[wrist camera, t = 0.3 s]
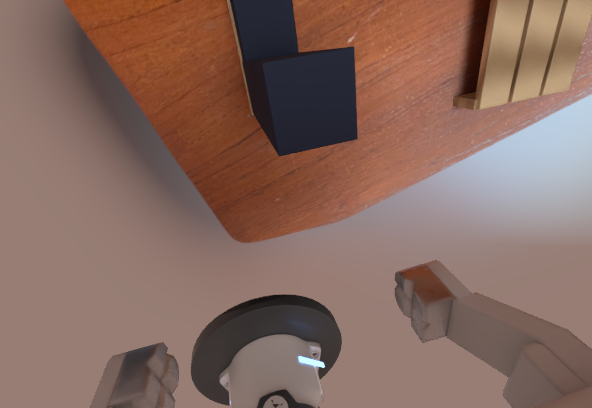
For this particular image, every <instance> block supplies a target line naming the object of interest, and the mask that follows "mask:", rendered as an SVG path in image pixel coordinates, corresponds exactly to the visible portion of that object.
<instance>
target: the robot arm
mask: <svg viewBox="0 0 592 408" xmlns="http://www.w3.org/2000/svg"><path fill="white" fill-rule="evenodd" d="M395 281H396V282H397V284H398V285H397V286H396V288H395V297H396V301H397V303H398V305H399V308H400V309H401V311H402V312H403V314H404V315H405V316H407V317H409V318H411V326H412V327H413V329H414V331H415V332H416V334H417V335H418V337H419V338H420V340H421V341H422V343H424V342H427V341H431V340H434V339H438V338H441V337H445V336H447V338H449V339H450V340H452V341H453V342H455V343H456V344H458V345H459V346H461V347H463V348H464V349H466V350H467V351H469V352H470V353H472V354H473V355H475V356H476V357H478V358H480V359H481V360H483V361H484V362H486V363H487V364H489V365H490V366H492V367H493V368H495V369H497V370H498V371H500V372H501V373H503V374H504V375H506V376H507V377H509V378H508V380H507V383H506V386H505V388H504V392H503V396H504V398H505V399H506V400H507V402H508V403H509V404H510V405H511V407H512V408H592V349H591V348H589V347H588V346H587V345H586V344H584V343H583V342H582V341H581V340H580V339H578V338H577V337H576V336H575V335H574V334H572V333H571V332H570V331H569V330H567V329H565V328H563V327H560V326H558V325H555V324H553V323H550V322H548V321H545V320H543V319H540V318H538V317H535V316H533V315H531V314H528V313H526V312H523V311H521V310H518V309H516V308H513V307H511V306H508V305H506V304H503V303H501V302H498V301H496V300H494V299H491V298H489V297H486V296H484V295H481V294H478V293H473V294H472V293H471V292H470V291H469V290H468V289H467V288H466V287H465V286H464V285H463V284H462V283H461V282H460V281H459V280H458V279H457V278H456V277H455V276H454V275H453V274H452V273H451V272H450V271H449V270H448V269H447V268H446V267H445V266H444V265H443V264H442V263H441V262H439V261H437V260H435V261H432V262H428V263H425V264H421V265H417V266H414V267H411V268H408V269H405V270H401V271H399V272H396V274H395ZM167 349H168V348H167V347H166V345H165V344H164V343H158V344H155V345H151V346H147V347H143V348H139V349H136V350H132V351H129V352H125V353H122V354H118V355H115V356H112V358H111V359H110V360H109V361H108V363H107V366H106V368H105V371H104V373H103V376H102V378H101V381H100V384H99V386H98V388H97V391H96V393H95V396H94V399H93V401H92V404H91V406H90V408H174V406H175V400H174V398H173V396H172V393H173V392H174V390H175V389H176V387H177V386H178V380H179V369H178V364H177V361H176V359H175V358H174V356H172V355H169V354H167ZM320 354H321V348H320V344H319V343H316V342H308V341H304V340H302V339H300V338H299V337H296V336H293V335H287V334H276V335H270V336H265V337H262V338H259V339H257V340H255V341H253V342H251V343H249V344H247V345H246V346H244V347H243V348H242V349H241V350H240V351H239V352H238V353H237V354H236V355H235V357H234V358H233V360H232V362H231V364H230V365H229V367H228V368H226V369H225V370H224V371H223V372H222V373H221V374H220V375H219V380H220V383H221V384H222V385H223V386H224V387H225V388H226V389H227V390H228V391H229V401H230V408H319V403H320V402H323V401H324V396H323V394H324V393H323V388H322V386H321V383H320V379H319V376H318V369H319V367H323V368H324V367H325V366H324V363H323V362H320Z"/></svg>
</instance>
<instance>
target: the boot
mask: <svg viewBox="0 0 592 408" xmlns="http://www.w3.org/2000/svg"><path fill="white" fill-rule="evenodd" d="M226 1H227V6H228V10H229V15H230V19H231V24H232V28H233V33H234V38H235V42H236V47H237V51H238V56H239V60H240V65H241V69H242V74H243V79H244V83H245V88H246V92H247V97H248V101H249V106H250V110H251V114H252V116H255V117H256V119H257V121H258V122H259V124H260V126H261V127H262V129H263V130H264V132H265V134H266V135H267V137H268V139H269V140H270V142H271V144H272V145H273V147H274V149H275V150H276V152H277V153H278V155H279V156H283V155H288V154H292V153H297V152H301V151H306V150H310V149H315V148H319V147H324V146H328V145H333V144H337V143H342V142H346V141H351V140H355V139H357V112H356V86H355V60H354V47H347V48H338V49H328V50H319V51H310V52H300V53H299V52H298V44H297V36H296V28H295V20H294V12H293V4H292V0H226Z"/></svg>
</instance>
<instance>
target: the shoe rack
mask: <svg viewBox="0 0 592 408" xmlns="http://www.w3.org/2000/svg"><path fill="white" fill-rule="evenodd" d="M591 15H592V0H491V2H490V8H489V14H488V21H487V27H486V33H485V39H484V46H483V52H482V58H481V64H480V71H479V77H478V83H477V89H476V92H474V93H469V94H465V95H460V96H455V97H454V104H453V106H457V107H462V108H467V109H472V110H474V109H479V110H480V109H485V108H489V107H494V106H498V105H503V104H507V102H511V103H512V102H516V101H521V100H525V99H530V98H534V97H538V96H539V95H540V96H544V95H548V94H553V93H557V92H562V91H566V90H568V89H569V86H570V83H571V80H572V76H573V73H574V70H575V67H576V64H577V60H578V57H579V54H580V51H581V48H582V44H583V41H584V38H585V35H586V31H587V28H588V25H589V22H590V19H591Z"/></svg>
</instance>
